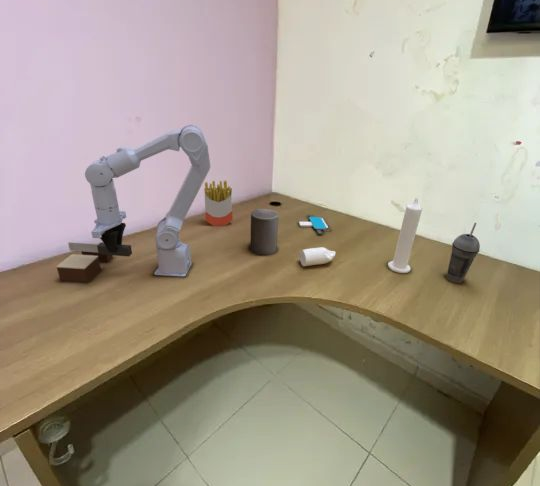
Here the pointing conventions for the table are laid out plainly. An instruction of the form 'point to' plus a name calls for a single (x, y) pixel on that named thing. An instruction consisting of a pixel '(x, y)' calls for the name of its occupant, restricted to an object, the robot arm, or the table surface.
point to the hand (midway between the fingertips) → (115, 249)
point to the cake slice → (99, 256)
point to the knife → (101, 248)
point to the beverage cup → (462, 256)
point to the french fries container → (218, 203)
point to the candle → (406, 238)
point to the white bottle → (315, 256)
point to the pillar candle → (264, 231)
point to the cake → (78, 268)
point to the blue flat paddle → (316, 224)
